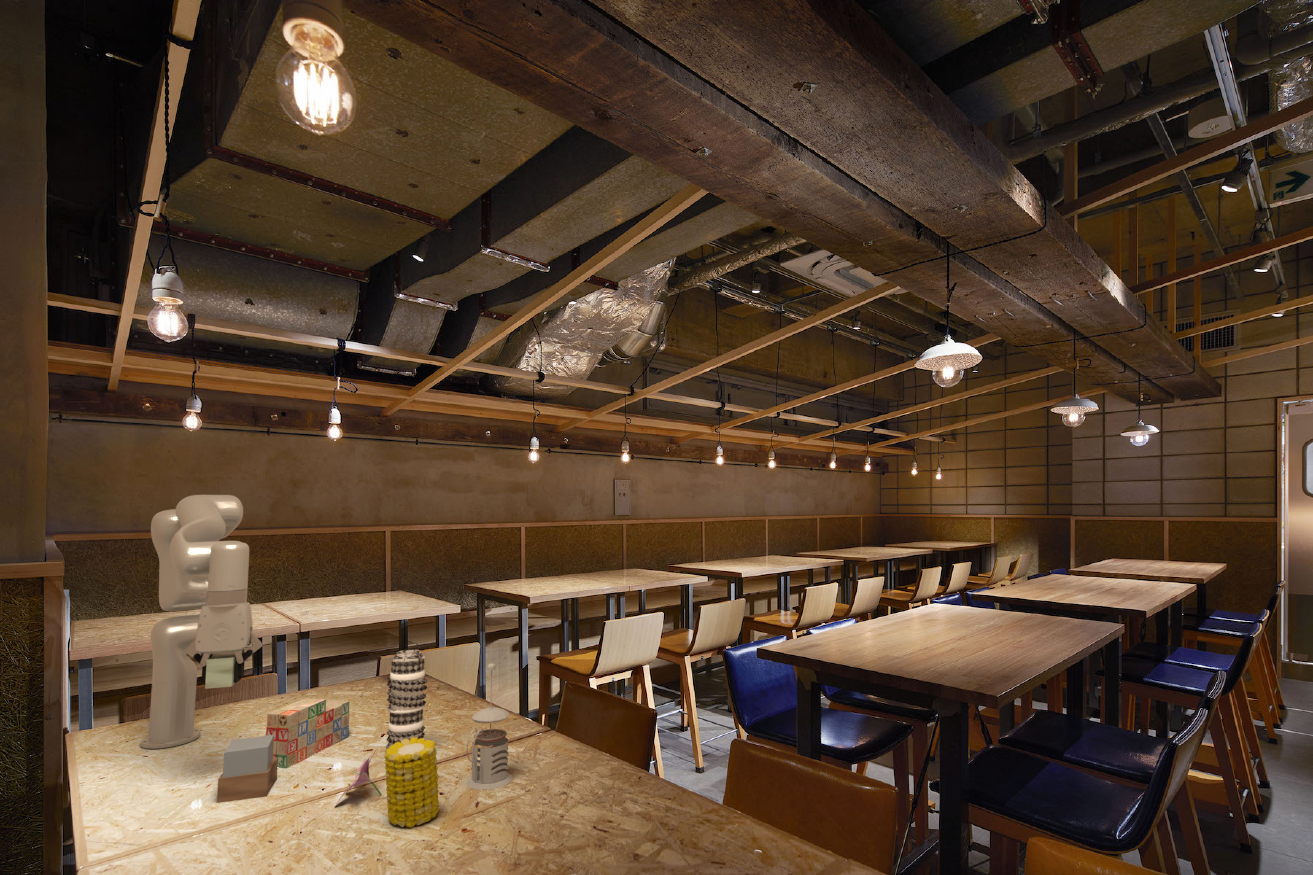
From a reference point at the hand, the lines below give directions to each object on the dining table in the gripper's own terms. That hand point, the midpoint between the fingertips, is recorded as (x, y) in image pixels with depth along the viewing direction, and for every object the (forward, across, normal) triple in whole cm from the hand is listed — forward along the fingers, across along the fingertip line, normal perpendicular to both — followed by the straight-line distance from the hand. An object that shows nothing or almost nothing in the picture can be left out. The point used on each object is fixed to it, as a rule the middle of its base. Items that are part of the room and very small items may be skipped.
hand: (222, 681), depth 144 cm
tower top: (+18, +7, -4) cm, 19 cm away
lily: (+23, +30, -15) cm, 41 cm away
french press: (+23, +56, -15) cm, 63 cm away
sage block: (+1, 0, 0) cm, 1 cm away
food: (+23, +41, -29) cm, 55 cm away
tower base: (+23, +7, -4) cm, 24 cm away
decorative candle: (+23, +38, +4) cm, 44 cm away
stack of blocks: (+22, +15, +17) cm, 32 cm away
